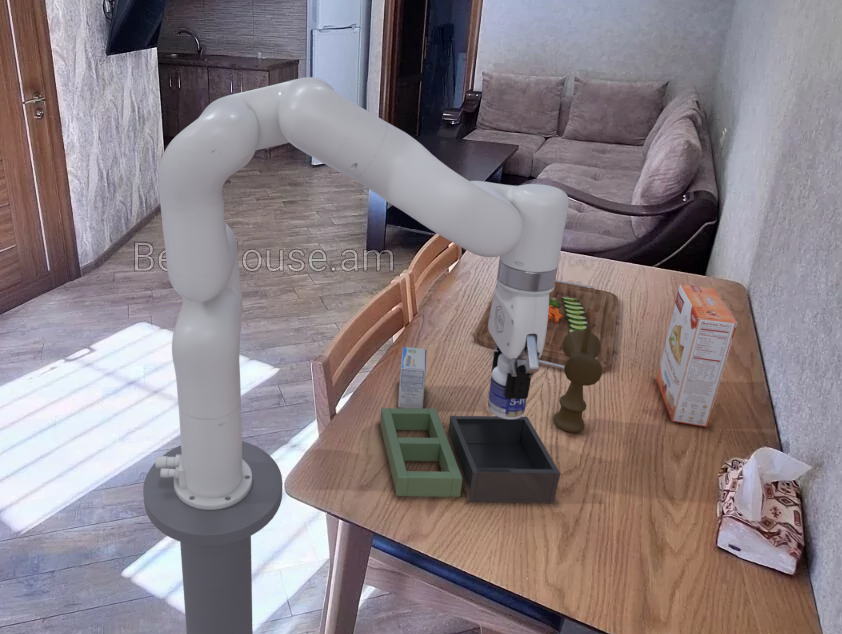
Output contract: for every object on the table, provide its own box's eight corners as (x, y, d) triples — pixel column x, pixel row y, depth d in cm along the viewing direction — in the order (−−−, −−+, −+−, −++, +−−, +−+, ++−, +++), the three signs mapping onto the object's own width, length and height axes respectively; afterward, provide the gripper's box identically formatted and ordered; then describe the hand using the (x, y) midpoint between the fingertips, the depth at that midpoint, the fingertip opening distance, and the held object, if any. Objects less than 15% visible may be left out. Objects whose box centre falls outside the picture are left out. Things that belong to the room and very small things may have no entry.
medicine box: (422, 411, 117) (426, 370, 114) (397, 408, 118) (400, 367, 114) (422, 387, 124) (426, 348, 121) (399, 384, 125) (402, 345, 122)
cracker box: (653, 380, 126) (678, 282, 118) (689, 386, 124) (716, 287, 116) (668, 422, 114) (697, 315, 106) (707, 429, 112) (740, 321, 104)
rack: (396, 496, 97) (398, 477, 96) (379, 424, 113) (381, 407, 112) (460, 497, 97) (462, 478, 96) (434, 425, 113) (436, 408, 112)
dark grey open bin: (468, 502, 96) (472, 472, 94) (446, 443, 108) (450, 415, 106) (554, 503, 96) (560, 473, 93) (522, 444, 108) (527, 416, 106)
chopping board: (608, 382, 125) (611, 368, 124) (468, 348, 137) (469, 336, 136) (618, 294, 162) (620, 283, 161) (506, 274, 174) (508, 263, 173)
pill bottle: (512, 425, 94) (519, 372, 91) (480, 409, 98) (486, 358, 95) (531, 410, 98) (538, 359, 94) (500, 395, 101) (506, 346, 98)
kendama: (585, 414, 116) (607, 314, 108) (588, 446, 108) (611, 341, 100) (549, 406, 118) (568, 308, 110) (549, 437, 110) (569, 334, 102)
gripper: (481, 251, 98) (467, 356, 104) (520, 301, 82) (501, 420, 88) (531, 251, 97) (514, 356, 104) (580, 301, 81) (556, 421, 88)
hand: (508, 384), depth 96 cm, fingers closed on pill bottle, 5 cm apart
